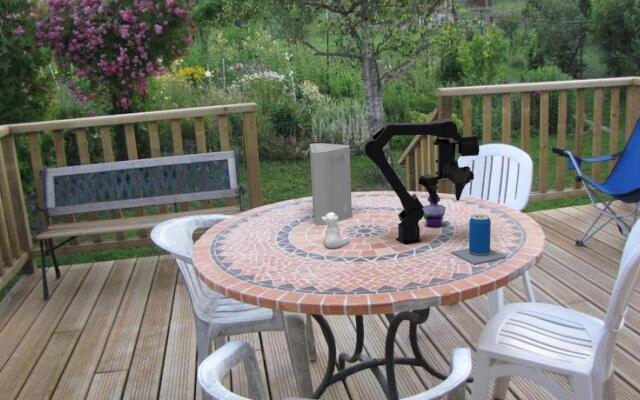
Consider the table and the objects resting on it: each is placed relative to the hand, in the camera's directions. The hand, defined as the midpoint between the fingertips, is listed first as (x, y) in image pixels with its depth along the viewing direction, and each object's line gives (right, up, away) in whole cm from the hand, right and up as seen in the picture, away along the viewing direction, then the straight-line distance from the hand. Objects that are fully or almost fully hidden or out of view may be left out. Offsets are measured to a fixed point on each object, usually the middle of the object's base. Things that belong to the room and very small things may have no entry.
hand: (446, 202), depth 216 cm
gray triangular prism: (-38, -6, +35) cm, 52 cm away
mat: (+7, -17, -14) cm, 23 cm away
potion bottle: (-1, -9, +19) cm, 21 cm away
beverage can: (+8, -16, -13) cm, 22 cm away
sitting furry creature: (-38, -15, +2) cm, 41 cm away
